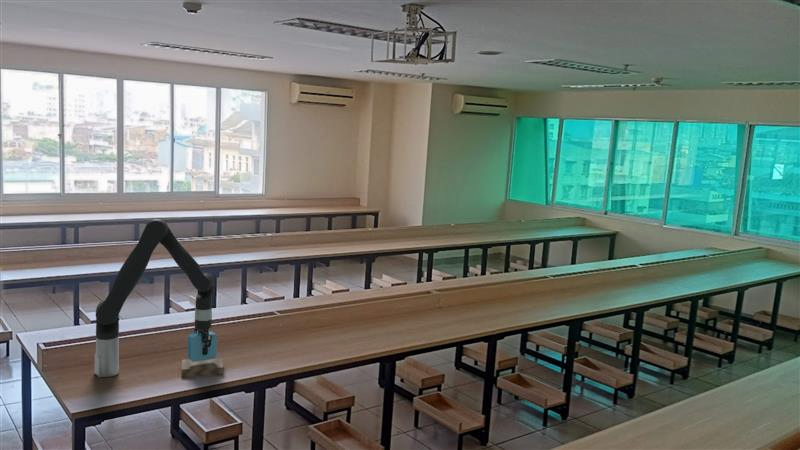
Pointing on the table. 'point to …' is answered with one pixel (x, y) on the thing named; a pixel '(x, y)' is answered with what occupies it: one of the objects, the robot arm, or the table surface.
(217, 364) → the mottled brown block
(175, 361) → the table surface
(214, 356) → the data package
